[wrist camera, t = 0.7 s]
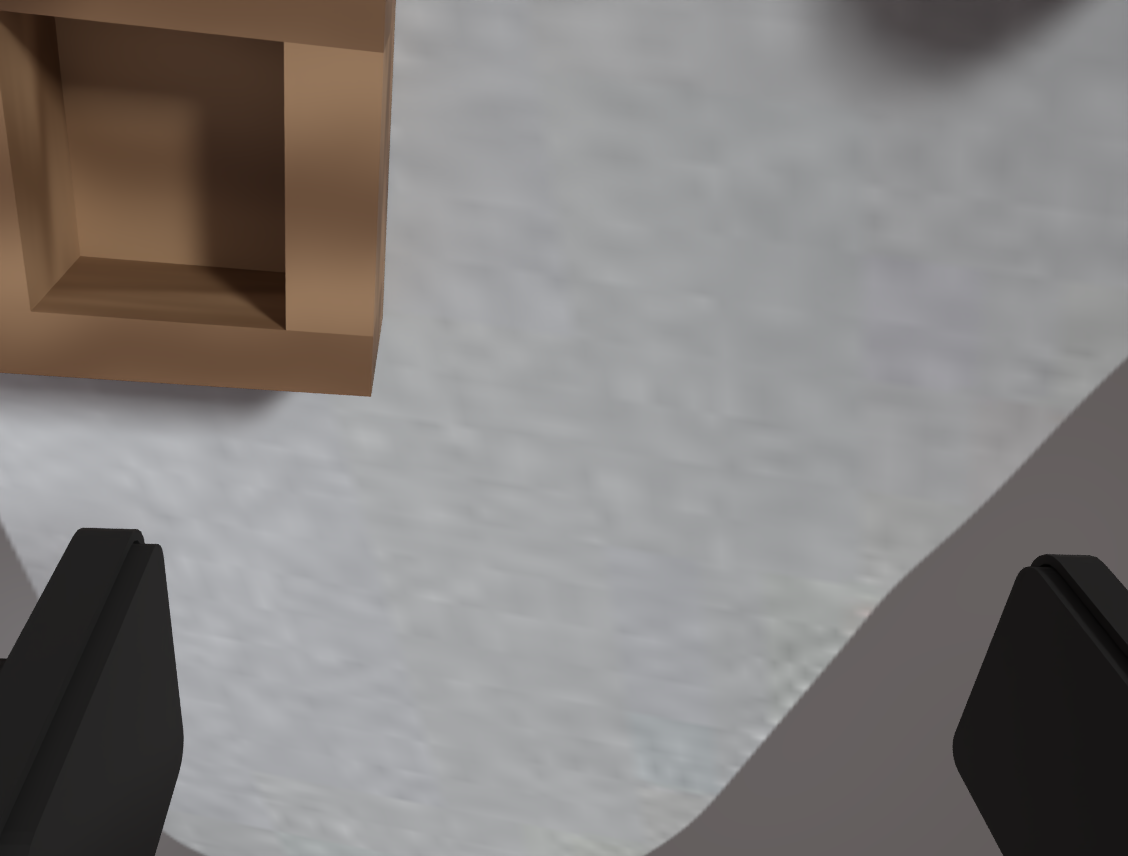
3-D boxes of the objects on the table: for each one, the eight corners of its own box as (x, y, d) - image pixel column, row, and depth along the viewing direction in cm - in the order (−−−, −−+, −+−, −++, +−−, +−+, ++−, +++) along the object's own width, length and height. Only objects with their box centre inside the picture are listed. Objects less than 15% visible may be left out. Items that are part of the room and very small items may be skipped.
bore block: (-33, -107, 29) (-139, -96, 24) (397, -53, 31) (386, -32, 26) (22, 290, 35) (-54, 369, 30) (382, 317, 37) (370, 396, 31)
